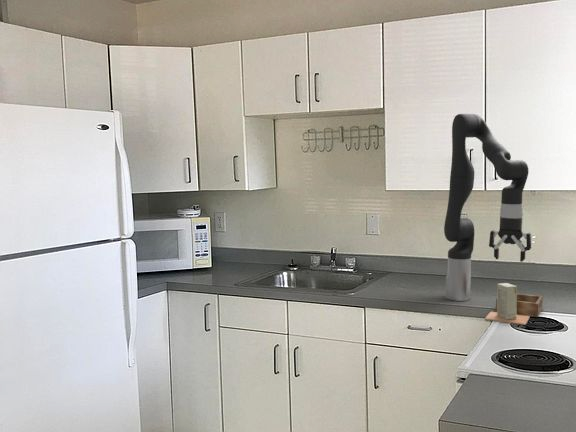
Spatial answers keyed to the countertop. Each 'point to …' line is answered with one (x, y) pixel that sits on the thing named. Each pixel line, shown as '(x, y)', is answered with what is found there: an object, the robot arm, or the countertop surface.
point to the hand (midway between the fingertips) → (509, 260)
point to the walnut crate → (528, 305)
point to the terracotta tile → (519, 320)
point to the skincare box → (507, 301)
